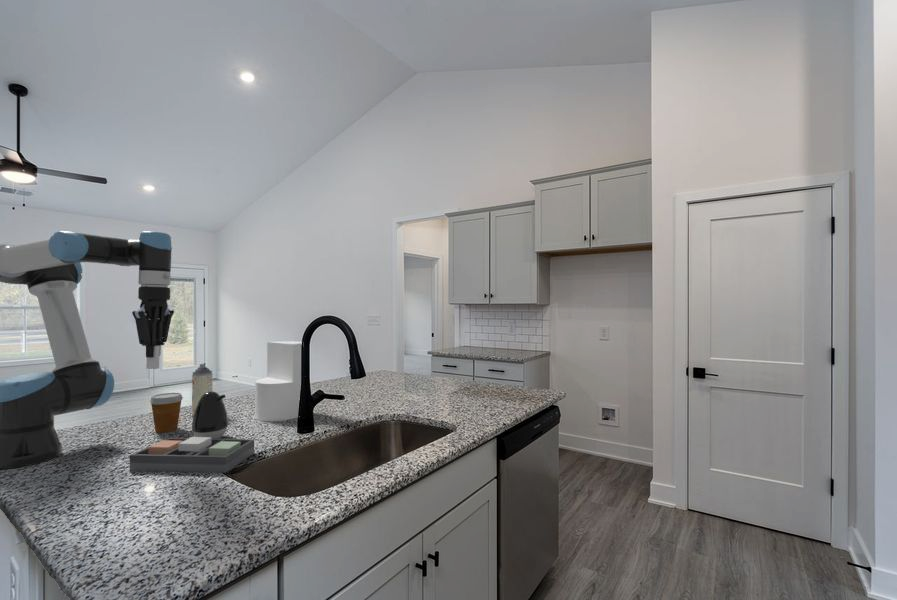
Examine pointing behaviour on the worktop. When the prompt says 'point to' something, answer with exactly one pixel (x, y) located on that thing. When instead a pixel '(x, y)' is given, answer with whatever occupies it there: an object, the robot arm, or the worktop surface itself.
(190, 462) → the grey compartment tray
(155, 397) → the disposable coffee cup
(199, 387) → the aerosol can
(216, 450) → the key sage
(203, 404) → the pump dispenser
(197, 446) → the key grey
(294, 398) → the white toilet
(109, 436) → the worktop surface
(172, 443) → the key terracotta
